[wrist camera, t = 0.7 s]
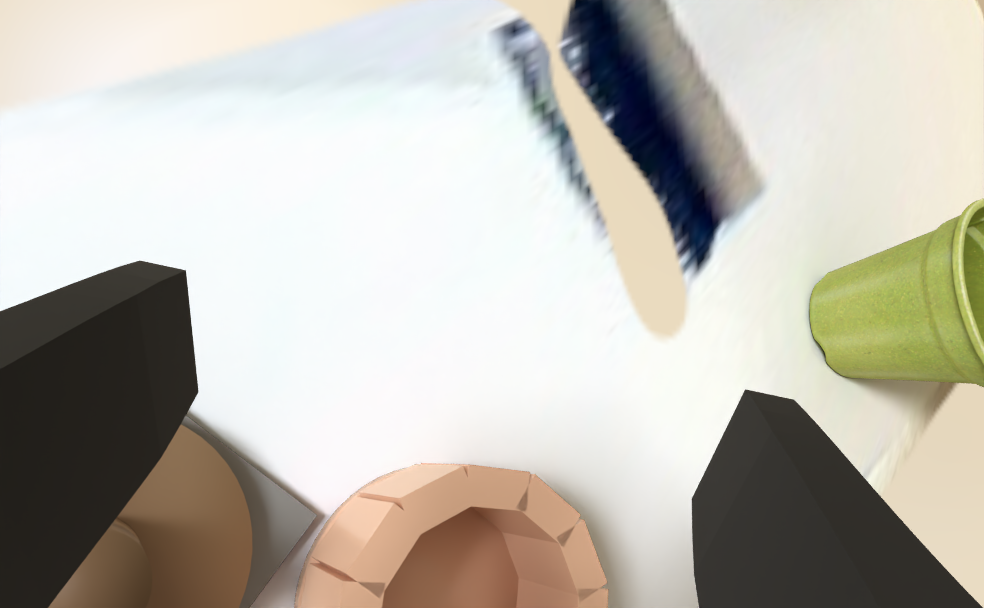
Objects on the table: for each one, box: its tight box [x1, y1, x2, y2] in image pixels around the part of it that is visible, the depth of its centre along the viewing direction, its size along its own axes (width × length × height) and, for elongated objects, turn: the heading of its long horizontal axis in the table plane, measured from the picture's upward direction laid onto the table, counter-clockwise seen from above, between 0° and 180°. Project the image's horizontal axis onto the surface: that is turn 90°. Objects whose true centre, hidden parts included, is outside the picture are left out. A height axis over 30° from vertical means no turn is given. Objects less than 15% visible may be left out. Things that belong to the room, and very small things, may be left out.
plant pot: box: [810, 199, 984, 387], centre depth 35 cm, size 9×9×9 cm
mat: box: [181, 416, 317, 608], centre depth 19 cm, size 9×9×1 cm
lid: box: [48, 425, 252, 608], centre depth 16 cm, size 8×8×5 cm
